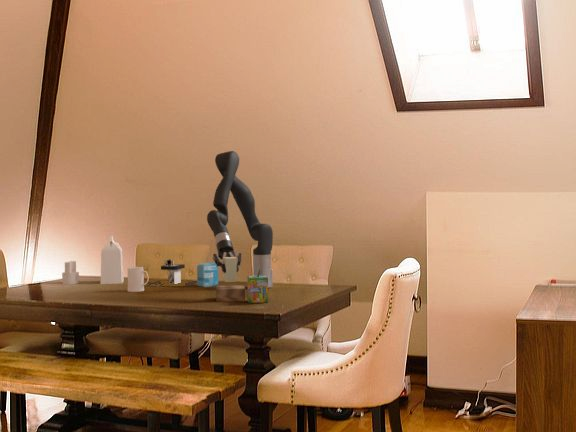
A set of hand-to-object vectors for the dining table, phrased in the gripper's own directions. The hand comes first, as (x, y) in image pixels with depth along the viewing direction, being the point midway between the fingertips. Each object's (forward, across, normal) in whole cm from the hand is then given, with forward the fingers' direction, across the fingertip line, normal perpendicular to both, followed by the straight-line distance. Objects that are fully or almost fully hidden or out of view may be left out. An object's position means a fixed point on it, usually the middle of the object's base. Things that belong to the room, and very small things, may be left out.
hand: (231, 271), depth 370 cm
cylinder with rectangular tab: (-66, -63, +85) cm, 125 cm away
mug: (-28, -34, +48) cm, 65 cm away
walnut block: (+8, 0, +11) cm, 14 cm away
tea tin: (+2, 0, +5) cm, 5 cm away
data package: (-33, +4, +52) cm, 61 cm away
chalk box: (+17, +9, +1) cm, 20 cm away
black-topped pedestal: (-46, -11, +66) cm, 81 cm away
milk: (-61, -41, +80) cm, 109 cm away
